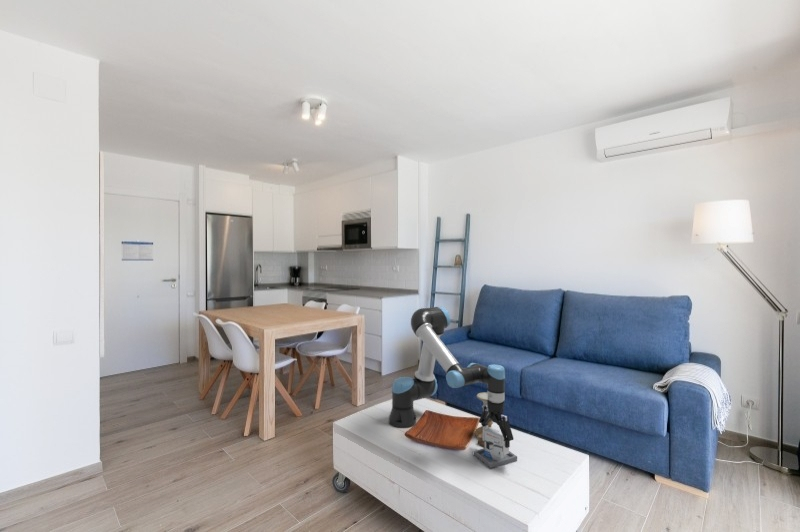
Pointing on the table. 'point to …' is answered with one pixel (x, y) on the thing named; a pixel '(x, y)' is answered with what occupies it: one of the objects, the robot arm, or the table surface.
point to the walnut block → (481, 440)
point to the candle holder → (484, 398)
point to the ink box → (494, 444)
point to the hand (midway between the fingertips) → (495, 446)
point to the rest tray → (491, 462)
